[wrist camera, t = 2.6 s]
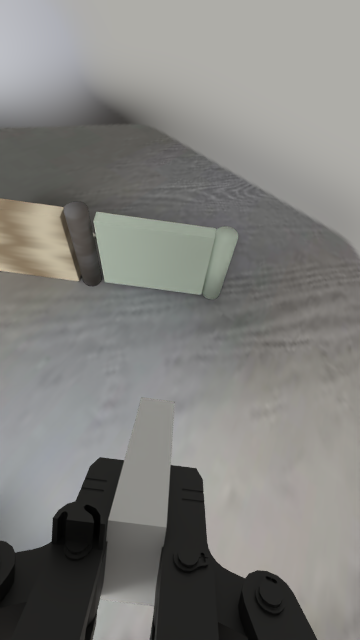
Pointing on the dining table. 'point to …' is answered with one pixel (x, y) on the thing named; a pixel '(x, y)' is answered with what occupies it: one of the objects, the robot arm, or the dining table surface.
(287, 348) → the dining table surface
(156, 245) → the panel
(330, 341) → the dining table surface
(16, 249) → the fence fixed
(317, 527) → the dining table surface
